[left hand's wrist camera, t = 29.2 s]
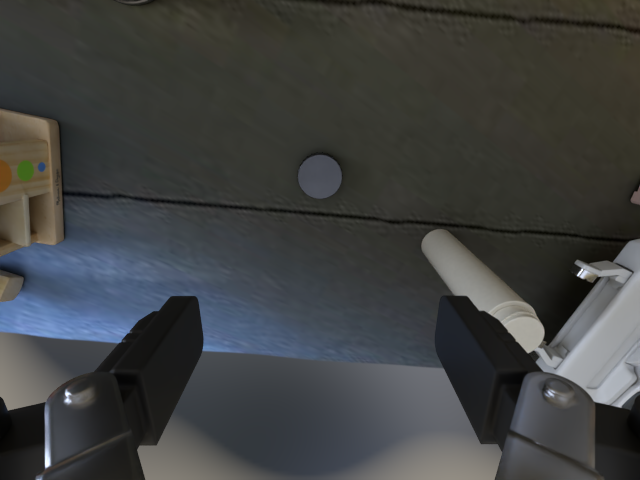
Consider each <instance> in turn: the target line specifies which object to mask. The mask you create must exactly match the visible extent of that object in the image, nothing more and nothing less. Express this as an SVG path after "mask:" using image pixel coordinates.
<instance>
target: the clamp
mask: <svg viewBox="0 0 640 480" xmlns="http://www.w3.org/2000/svg"><path fill="white" fill-rule="evenodd" d="M631 202H632V203H635V204H639V205H640V186H639V189H638V191H637V192H636V191H635V192H634V194H633V196H632V198H631Z"/></svg>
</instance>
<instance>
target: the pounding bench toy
mask: <svg viewBox="0 0 640 480" xmlns="http://www.w3.org/2000/svg"><path fill="white" fill-rule="evenodd" d="M63 240H64V227H63V204H62V180H61V160H60V139H59V126H58V123H57V121H55V120H53V119H48V118H44V117H40V116H35V115H30V114H25V113H20V112H15V111H11V110H6V109H1V108H0V257H1V256H3V255H5V254H8V253H10V252H12V251H15V250H17V249H20V248H22V247H24V246H25V247H28V246H31V244H32V243H34V242H37V243H43V244H49V245H55V244H57V243H59V242H62V241H63ZM23 280H24V279H23V277H22V276H19V275H16V274H12V273H9V272H6V271H3V270H0V302H4V301H11V300H14V299H15V298H16V296H17V295H18V294H19V292H20V290H21V287H22V284H23Z"/></svg>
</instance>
